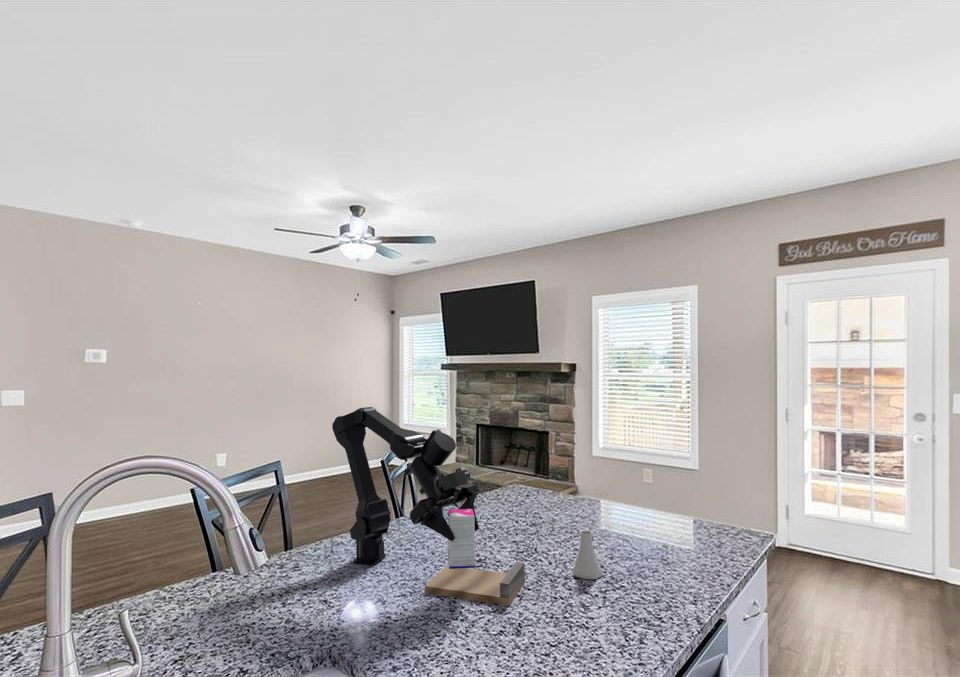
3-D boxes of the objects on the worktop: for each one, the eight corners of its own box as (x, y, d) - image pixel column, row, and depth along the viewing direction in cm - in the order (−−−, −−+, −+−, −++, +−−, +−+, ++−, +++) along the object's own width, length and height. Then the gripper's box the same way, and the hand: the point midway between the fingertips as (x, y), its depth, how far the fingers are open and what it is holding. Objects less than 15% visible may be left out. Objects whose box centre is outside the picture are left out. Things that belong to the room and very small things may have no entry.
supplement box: (475, 568, 114) (474, 515, 114) (448, 569, 113) (447, 516, 114) (473, 557, 120) (472, 507, 120) (448, 559, 119) (447, 508, 119)
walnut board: (424, 592, 117) (424, 572, 117) (447, 571, 128) (446, 553, 128) (509, 605, 110) (508, 584, 110) (525, 582, 121) (524, 562, 121)
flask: (605, 570, 126) (604, 529, 127) (599, 582, 120) (597, 538, 120) (576, 566, 129) (575, 525, 130) (568, 577, 123) (567, 535, 123)
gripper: (418, 463, 112) (456, 525, 105) (473, 450, 127) (510, 503, 119) (394, 494, 117) (429, 555, 110) (450, 478, 132) (484, 531, 124)
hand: (465, 534), depth 116 cm, fingers closed on supplement box, 8 cm apart
